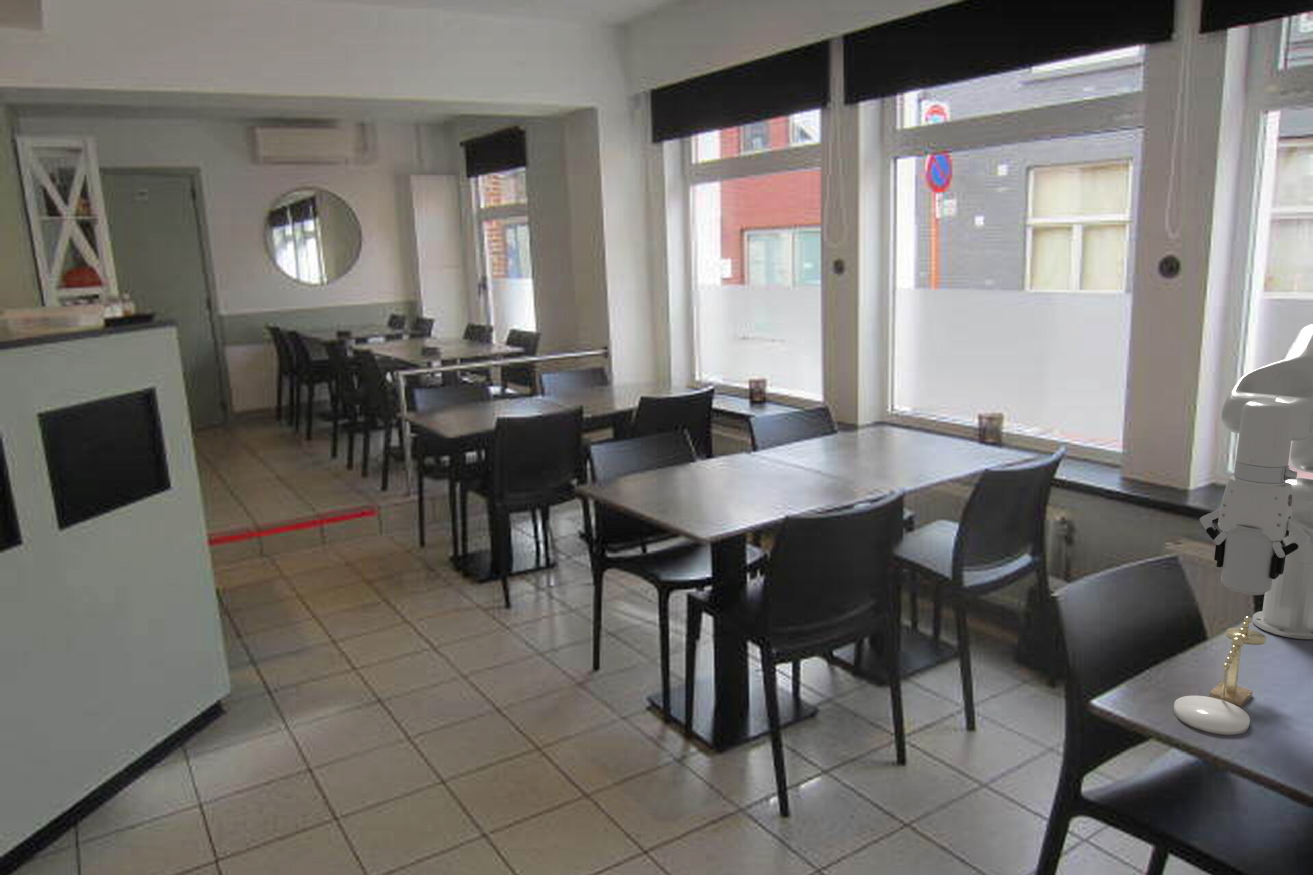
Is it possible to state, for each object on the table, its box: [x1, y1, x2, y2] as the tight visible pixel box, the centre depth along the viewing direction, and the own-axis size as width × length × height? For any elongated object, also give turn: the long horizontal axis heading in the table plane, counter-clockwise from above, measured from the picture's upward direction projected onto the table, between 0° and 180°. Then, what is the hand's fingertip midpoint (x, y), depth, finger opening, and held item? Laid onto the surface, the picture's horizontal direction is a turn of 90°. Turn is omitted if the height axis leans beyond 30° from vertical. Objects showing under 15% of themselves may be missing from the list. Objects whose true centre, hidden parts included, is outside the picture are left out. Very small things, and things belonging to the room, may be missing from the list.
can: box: [1220, 525, 1275, 596], centre depth 160 cm, size 8×8×12 cm
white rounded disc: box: [1173, 695, 1251, 736], centre depth 156 cm, size 11×11×1 cm
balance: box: [1208, 616, 1267, 708], centre depth 162 cm, size 14×6×14 cm, turn 133°
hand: (1247, 570), depth 161 cm, fingers closed on can, 7 cm apart
